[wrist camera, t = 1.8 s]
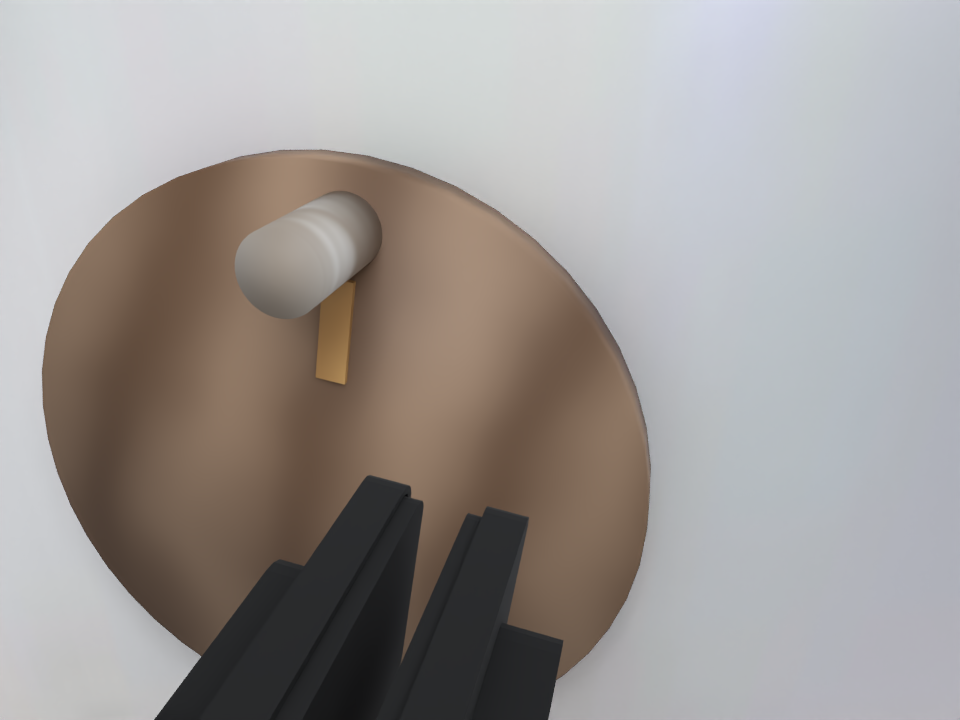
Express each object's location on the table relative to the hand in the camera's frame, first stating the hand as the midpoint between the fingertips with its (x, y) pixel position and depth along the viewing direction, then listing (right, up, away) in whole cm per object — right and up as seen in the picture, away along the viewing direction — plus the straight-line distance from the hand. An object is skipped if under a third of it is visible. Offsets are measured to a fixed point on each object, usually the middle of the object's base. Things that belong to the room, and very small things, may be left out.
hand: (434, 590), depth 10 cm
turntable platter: (-4, -1, +19) cm, 20 cm away
